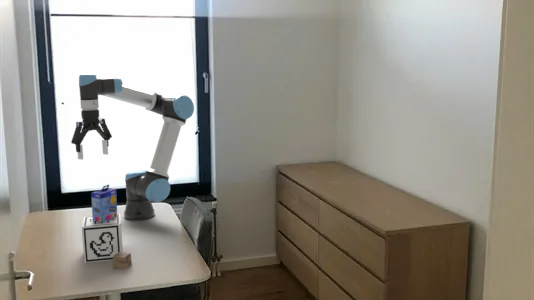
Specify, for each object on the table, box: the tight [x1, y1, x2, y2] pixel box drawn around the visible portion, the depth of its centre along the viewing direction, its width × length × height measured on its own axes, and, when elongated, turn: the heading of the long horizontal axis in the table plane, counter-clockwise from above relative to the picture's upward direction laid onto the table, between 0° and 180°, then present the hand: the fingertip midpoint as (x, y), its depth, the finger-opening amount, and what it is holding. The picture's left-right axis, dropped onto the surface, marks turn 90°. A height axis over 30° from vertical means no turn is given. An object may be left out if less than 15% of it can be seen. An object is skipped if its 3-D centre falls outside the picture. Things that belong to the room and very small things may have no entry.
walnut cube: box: [112, 251, 132, 270], centre depth 229 cm, size 5×5×5 cm
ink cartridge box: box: [90, 184, 118, 223], centre depth 241 cm, size 10×6×14 cm, turn 154°
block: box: [81, 213, 124, 264], centre depth 242 cm, size 15×15×15 cm
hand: (93, 156), depth 262 cm, fingers open, 13 cm apart
